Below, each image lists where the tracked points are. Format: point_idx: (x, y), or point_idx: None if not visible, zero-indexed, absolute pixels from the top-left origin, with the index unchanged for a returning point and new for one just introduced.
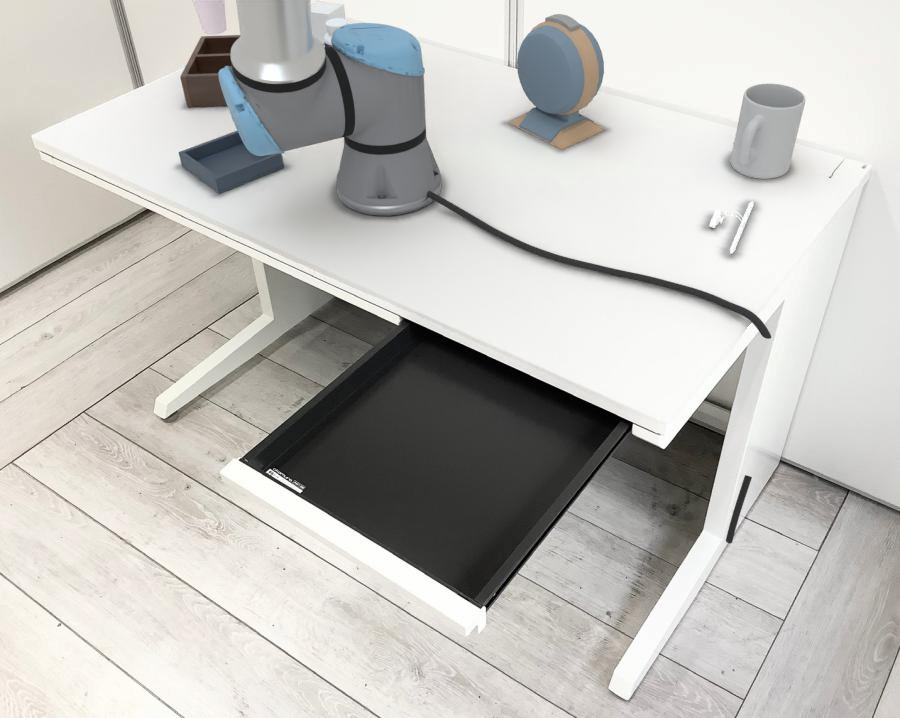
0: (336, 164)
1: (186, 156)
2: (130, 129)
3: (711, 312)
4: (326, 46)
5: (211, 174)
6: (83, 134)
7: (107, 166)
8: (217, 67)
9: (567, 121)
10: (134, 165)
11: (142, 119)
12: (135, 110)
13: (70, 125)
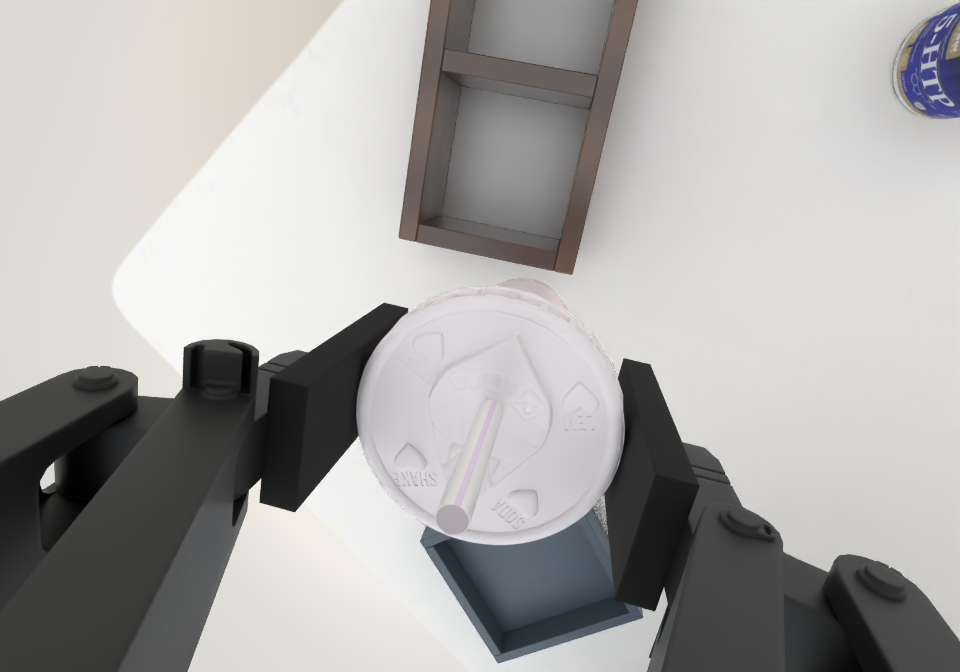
0: None
1: (438, 564)
2: (297, 315)
3: None
4: (955, 76)
5: (490, 645)
6: (196, 310)
7: None
8: (512, 88)
9: None
10: (332, 483)
11: (317, 268)
12: (291, 207)
13: (154, 252)
